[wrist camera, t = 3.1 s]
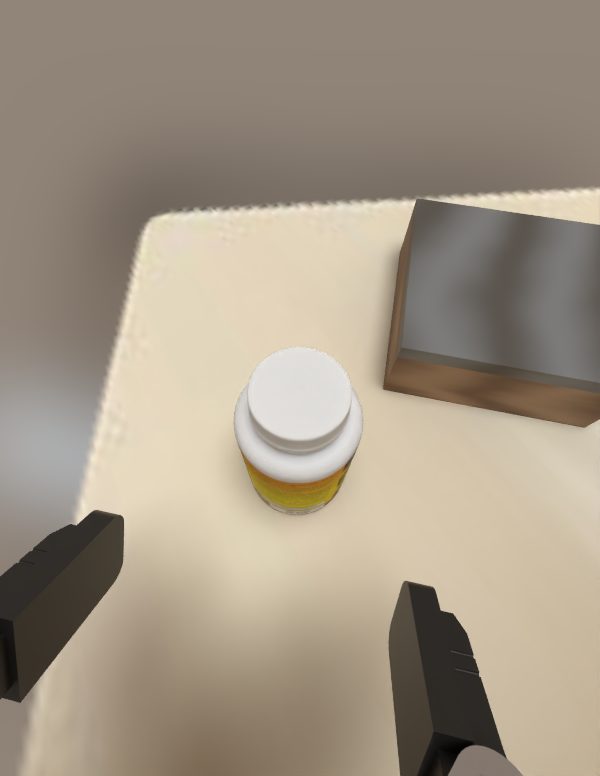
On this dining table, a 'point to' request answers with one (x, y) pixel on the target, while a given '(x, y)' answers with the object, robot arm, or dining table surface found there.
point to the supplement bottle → (298, 428)
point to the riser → (498, 312)
